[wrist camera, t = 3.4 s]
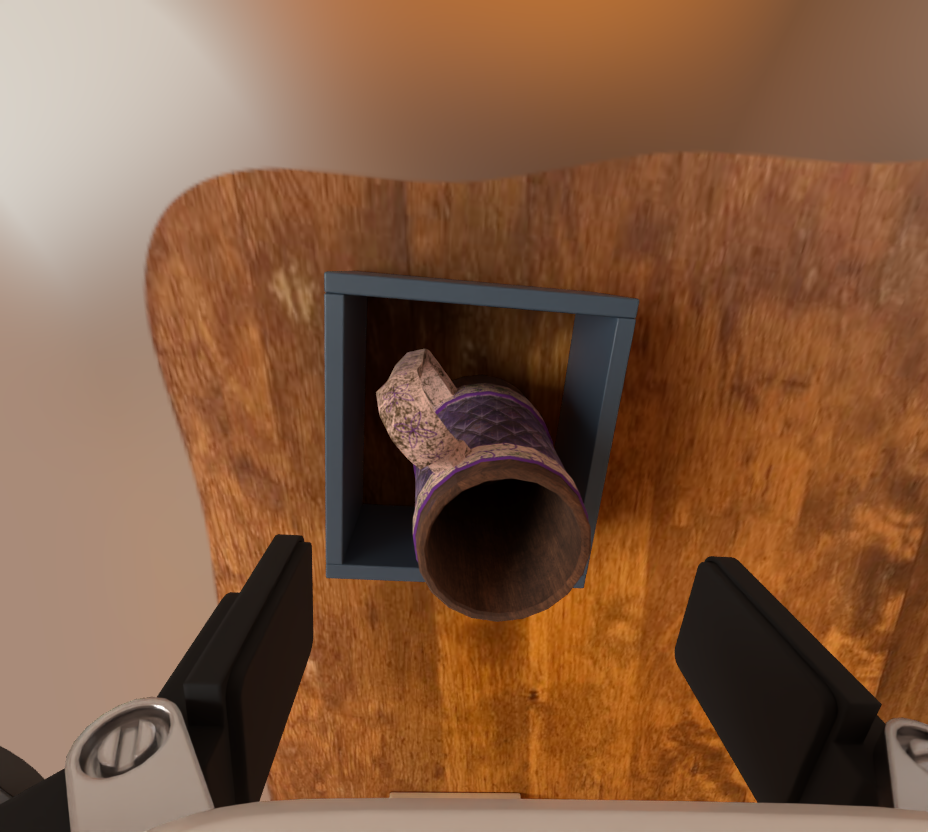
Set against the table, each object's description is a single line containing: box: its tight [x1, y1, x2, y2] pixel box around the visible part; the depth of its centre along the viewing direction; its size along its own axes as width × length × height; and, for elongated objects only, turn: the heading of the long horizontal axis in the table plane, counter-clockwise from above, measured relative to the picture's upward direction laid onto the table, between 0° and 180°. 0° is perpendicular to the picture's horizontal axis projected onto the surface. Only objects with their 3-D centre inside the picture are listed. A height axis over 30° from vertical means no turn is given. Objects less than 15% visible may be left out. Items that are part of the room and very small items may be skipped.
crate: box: [324, 271, 639, 588], centre depth 23 cm, size 13×14×6 cm
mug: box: [376, 349, 591, 621], centre depth 20 cm, size 10×7×12 cm
